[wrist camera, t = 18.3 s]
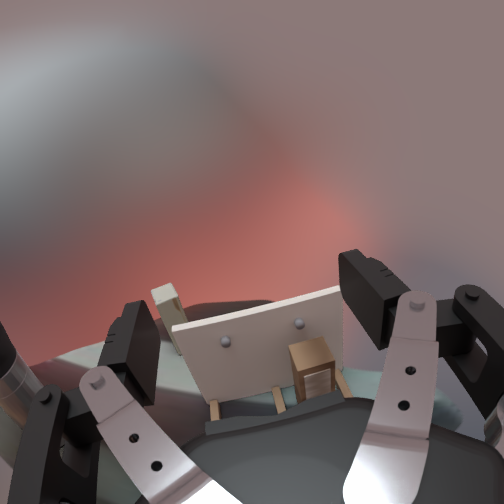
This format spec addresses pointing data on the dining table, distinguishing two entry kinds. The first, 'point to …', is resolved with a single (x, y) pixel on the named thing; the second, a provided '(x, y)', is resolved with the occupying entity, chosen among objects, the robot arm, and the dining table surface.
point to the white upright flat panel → (260, 347)
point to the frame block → (312, 368)
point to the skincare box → (169, 309)
